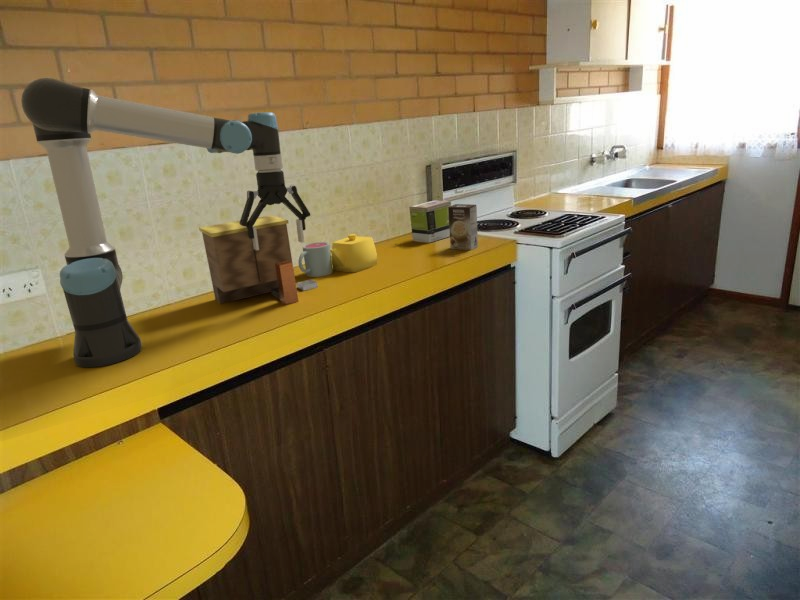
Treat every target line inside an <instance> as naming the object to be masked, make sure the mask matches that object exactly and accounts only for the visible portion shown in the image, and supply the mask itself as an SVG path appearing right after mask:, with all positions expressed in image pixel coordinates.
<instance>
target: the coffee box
mask: <svg viewBox="0 0 800 600" xmlns="http://www.w3.org/2000/svg"><path fill="white" fill-rule="evenodd" d="M448 211H449V229H450V237H449V242H450V243H449V244H450V246H449V247H450V249H451V250H465V251H473V250H474V249H475V248H478V247H479V244H478V243H479V241H478V239H479V236H478V235H479V233H478V215H477V214H478V213H477V204H470V203H469V204H464V203H463V204H462V203H455V204H453V205H452V204H451V206H450V207H448Z"/></svg>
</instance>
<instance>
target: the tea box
mask: <svg viewBox="0 0 800 600" xmlns="http://www.w3.org/2000/svg"><path fill="white" fill-rule="evenodd" d="M450 206H452V201H451V200H435V199H434V200H431V201H427V202H423V203H418V204H416V205H415V204H414V205H410V206H409V207H408V208H409V216H410V226H411V237H412V241H413V242H418V243H425V244H429V243H433V242H434V243H435V242H436V241H440V240H442V239H443V240H444V239H446V238H450V229H449V211H448V207H450Z"/></svg>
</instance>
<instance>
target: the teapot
mask: <svg viewBox="0 0 800 600" xmlns="http://www.w3.org/2000/svg"><path fill="white" fill-rule="evenodd" d="M330 253H331V261H332V268H333V271H338V272H345V273H353V274H354V273H358V272H361V271H364V270H367V269H370V268H372V267H374V266H377V264H378V254H377V248H376V245H375V242H374V239H373V237H372V236H361V235H357V233H356V234H355V233H351V234H347V237H345V238H341V239H339V240H335V241H333V242H332V243H331V249H330Z"/></svg>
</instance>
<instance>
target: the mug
mask: <svg viewBox="0 0 800 600" xmlns="http://www.w3.org/2000/svg"><path fill="white" fill-rule="evenodd" d="M330 250H331V247H330V243H329V242H326V241H318V242H310V243H306V244H304V245H302V253H301V254H300V256H299V257H298V268H299V269H300V271H301V272H302V273H305V274H306V276H307V277H311V278H316V277H317V278H318V277H325V276H329V275H331V274H333V272H334V268H333V265H332V253H331V252H330ZM303 258H304V259H303ZM303 261H304V266H305V268H304V267H303Z"/></svg>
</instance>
